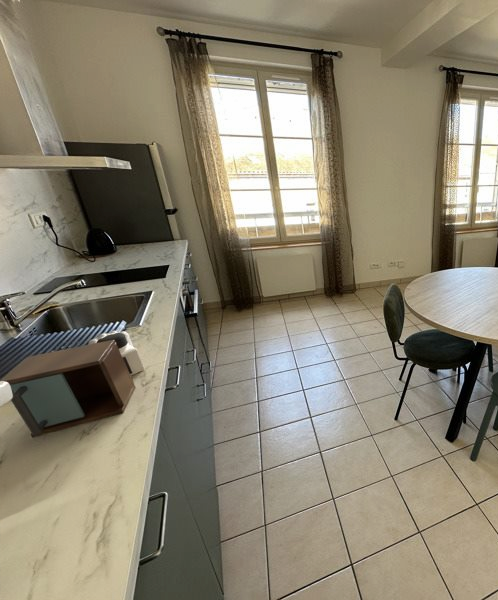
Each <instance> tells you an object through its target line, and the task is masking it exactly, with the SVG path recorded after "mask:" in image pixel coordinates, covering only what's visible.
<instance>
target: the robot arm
mask: <svg viewBox="0 0 498 600" xmlns="http://www.w3.org/2000/svg"><path fill="white" fill-rule="evenodd" d="M12 398H13V394H12V390H11V387H10V385H9V383H8V382H5V381H0V408H1V407H3V406H4V405H6V404H7V403H9V402H11V399H12Z"/></svg>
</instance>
